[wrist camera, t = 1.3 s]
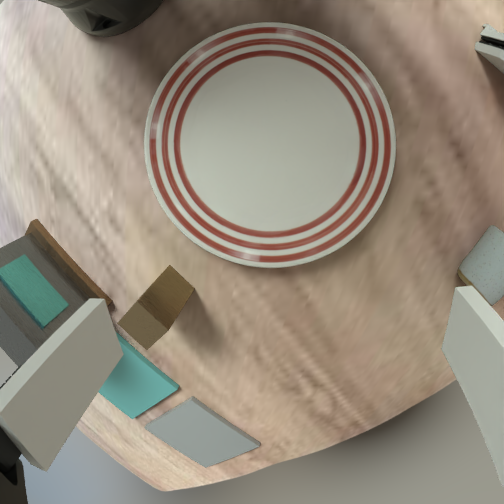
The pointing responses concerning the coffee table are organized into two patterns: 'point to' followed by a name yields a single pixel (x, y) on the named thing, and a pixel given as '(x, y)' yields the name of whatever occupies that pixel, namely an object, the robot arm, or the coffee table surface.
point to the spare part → (157, 308)
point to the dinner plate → (269, 145)
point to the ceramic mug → (486, 266)
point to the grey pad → (201, 433)
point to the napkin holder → (492, 46)
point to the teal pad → (135, 382)
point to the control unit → (38, 291)
